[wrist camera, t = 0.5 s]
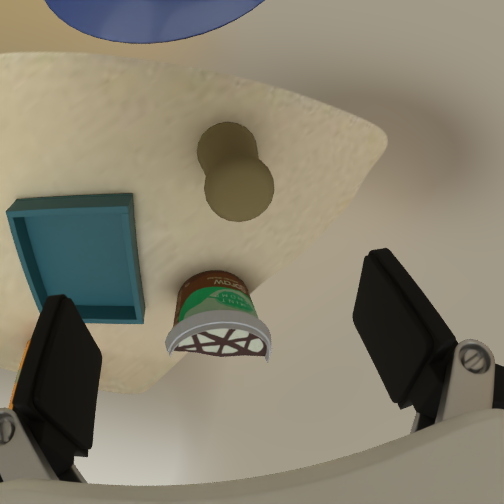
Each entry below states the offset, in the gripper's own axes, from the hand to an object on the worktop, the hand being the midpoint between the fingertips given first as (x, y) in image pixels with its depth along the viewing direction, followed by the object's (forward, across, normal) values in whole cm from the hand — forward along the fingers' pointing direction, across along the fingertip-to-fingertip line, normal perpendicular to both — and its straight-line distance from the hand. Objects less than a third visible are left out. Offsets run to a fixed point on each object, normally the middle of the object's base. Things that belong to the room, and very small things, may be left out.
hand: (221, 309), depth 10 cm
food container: (+25, 0, +20) cm, 32 cm away
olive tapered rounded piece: (+25, -2, +3) cm, 25 cm away
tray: (+24, +16, +13) cm, 32 cm away
